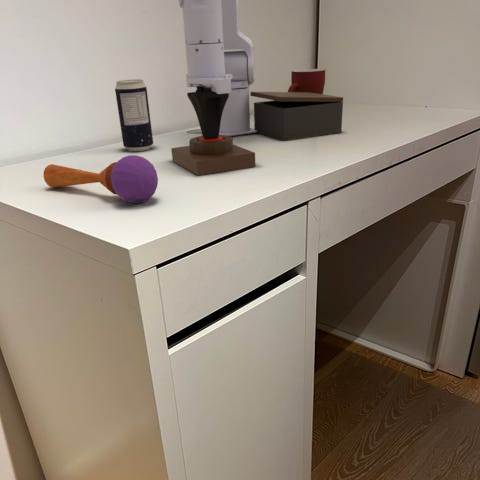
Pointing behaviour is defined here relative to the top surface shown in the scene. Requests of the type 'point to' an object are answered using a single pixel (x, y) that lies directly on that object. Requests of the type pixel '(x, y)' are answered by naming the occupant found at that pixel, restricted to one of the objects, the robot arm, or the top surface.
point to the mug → (308, 81)
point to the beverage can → (134, 114)
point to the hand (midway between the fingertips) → (210, 138)
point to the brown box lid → (297, 97)
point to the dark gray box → (297, 119)
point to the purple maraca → (111, 178)
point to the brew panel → (212, 156)
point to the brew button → (211, 139)
